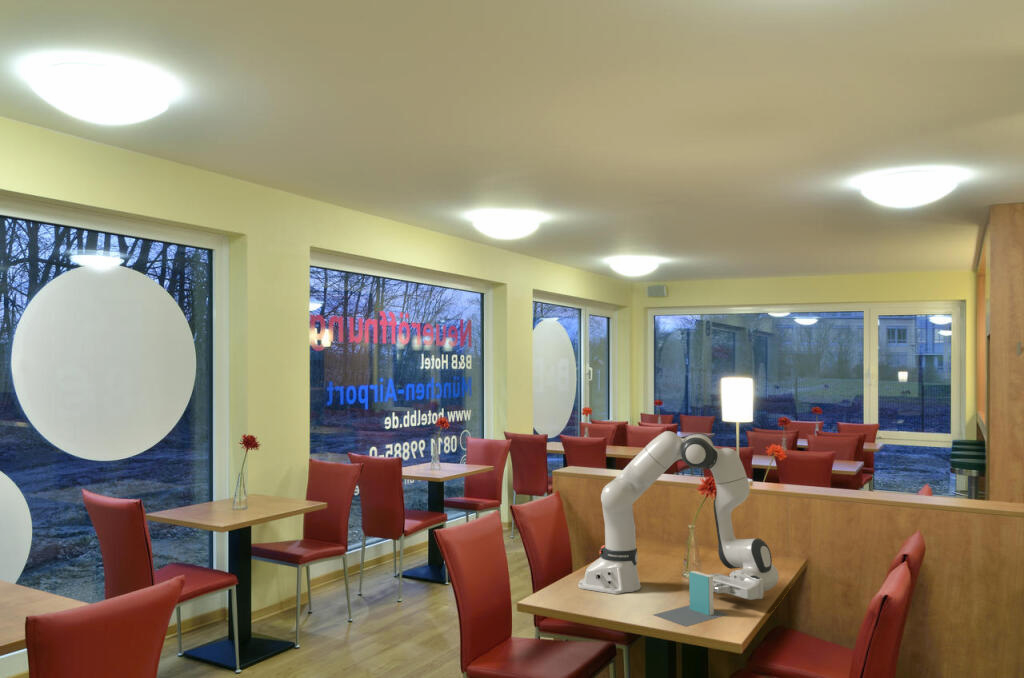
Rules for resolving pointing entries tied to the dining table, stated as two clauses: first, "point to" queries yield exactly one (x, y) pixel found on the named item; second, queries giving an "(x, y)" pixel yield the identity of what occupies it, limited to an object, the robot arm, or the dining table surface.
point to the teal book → (701, 592)
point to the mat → (688, 616)
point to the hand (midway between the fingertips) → (714, 589)
